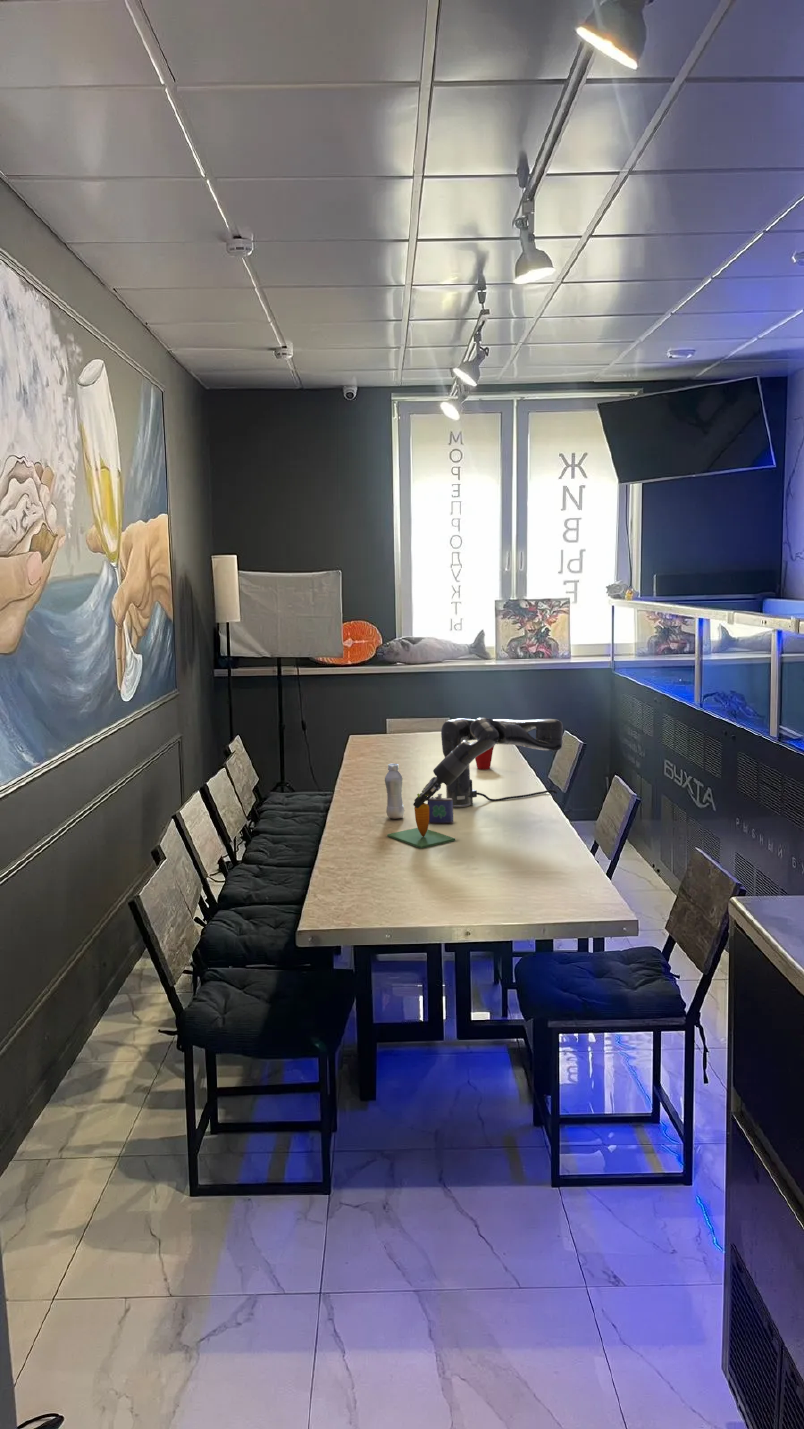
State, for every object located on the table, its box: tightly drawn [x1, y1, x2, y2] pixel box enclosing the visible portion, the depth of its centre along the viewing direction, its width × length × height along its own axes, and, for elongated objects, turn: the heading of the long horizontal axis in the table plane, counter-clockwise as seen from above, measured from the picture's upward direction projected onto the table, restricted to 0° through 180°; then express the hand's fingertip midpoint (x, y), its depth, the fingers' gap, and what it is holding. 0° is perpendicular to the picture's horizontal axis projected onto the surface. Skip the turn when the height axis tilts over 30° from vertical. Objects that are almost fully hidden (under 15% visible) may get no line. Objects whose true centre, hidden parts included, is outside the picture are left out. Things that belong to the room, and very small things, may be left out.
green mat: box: [386, 827, 456, 849], centre depth 323 cm, size 14×20×1 cm
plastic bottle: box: [384, 763, 405, 820], centre depth 350 cm, size 6×7×20 cm
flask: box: [427, 793, 454, 825], centre depth 341 cm, size 9×3×11 cm, turn 74°
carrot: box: [414, 793, 430, 837], centre depth 321 cm, size 5×5×15 cm
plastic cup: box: [471, 740, 495, 771], centre depth 434 cm, size 11×11×12 cm
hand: (415, 804), depth 321 cm, fingers open, 4 cm apart
